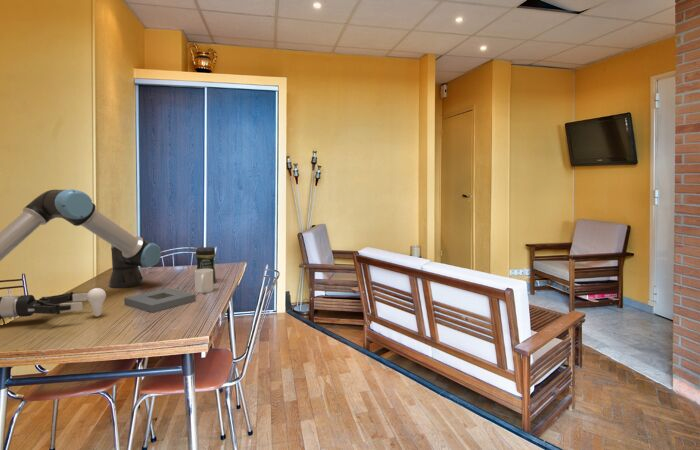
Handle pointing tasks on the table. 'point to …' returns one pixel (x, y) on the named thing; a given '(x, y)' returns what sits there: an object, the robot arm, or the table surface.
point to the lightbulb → (96, 300)
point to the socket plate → (159, 300)
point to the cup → (204, 280)
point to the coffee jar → (206, 259)
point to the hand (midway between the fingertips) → (87, 301)
